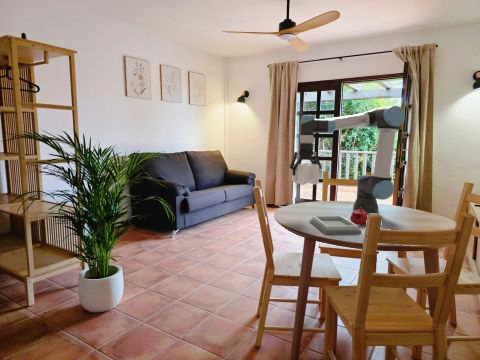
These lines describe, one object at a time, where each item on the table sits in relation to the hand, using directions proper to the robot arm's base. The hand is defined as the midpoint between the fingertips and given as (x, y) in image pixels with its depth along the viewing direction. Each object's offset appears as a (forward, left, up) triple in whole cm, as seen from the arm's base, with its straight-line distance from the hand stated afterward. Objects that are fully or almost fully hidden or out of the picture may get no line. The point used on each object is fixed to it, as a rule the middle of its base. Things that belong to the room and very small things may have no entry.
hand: (304, 181), depth 177 cm
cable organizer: (0, 0, -2) cm, 2 cm away
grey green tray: (-9, +23, -21) cm, 32 cm away
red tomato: (-26, +17, -21) cm, 37 cm away
